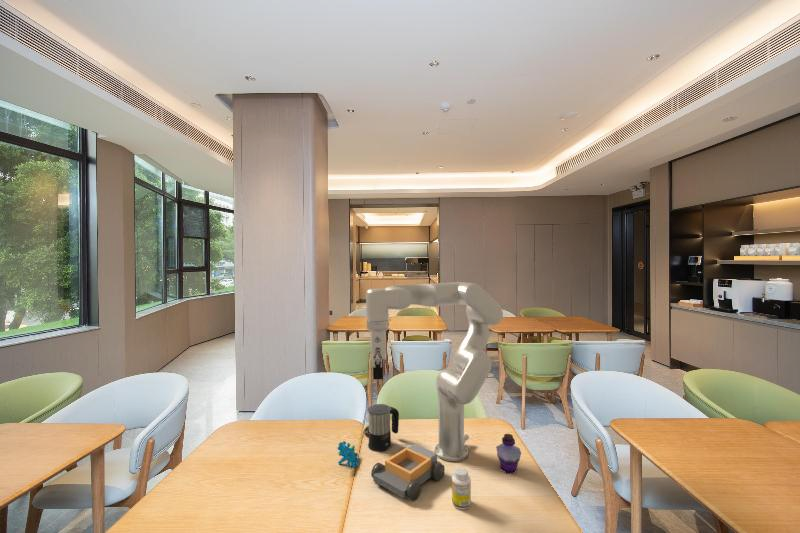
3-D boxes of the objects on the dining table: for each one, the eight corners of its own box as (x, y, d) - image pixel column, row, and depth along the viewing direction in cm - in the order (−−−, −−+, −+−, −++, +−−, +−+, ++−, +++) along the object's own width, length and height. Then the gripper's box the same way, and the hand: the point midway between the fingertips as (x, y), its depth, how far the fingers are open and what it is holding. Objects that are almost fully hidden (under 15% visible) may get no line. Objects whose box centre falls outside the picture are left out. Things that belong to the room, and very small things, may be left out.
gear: (354, 470, 125) (336, 446, 127) (342, 481, 125) (324, 457, 128) (365, 457, 135) (347, 435, 138) (354, 467, 136) (337, 445, 138)
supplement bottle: (458, 495, 114) (458, 463, 113) (474, 503, 110) (474, 470, 110) (448, 504, 109) (448, 471, 109) (464, 513, 106) (464, 478, 106)
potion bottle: (499, 459, 133) (499, 427, 133) (523, 466, 129) (523, 433, 128) (492, 472, 126) (492, 437, 125) (518, 479, 121) (518, 444, 121)
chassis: (408, 457, 135) (407, 439, 135) (446, 475, 124) (446, 456, 124) (369, 482, 120) (368, 463, 120) (408, 505, 109) (408, 484, 109)
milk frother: (382, 454, 137) (382, 415, 137) (350, 443, 146) (349, 406, 145) (402, 438, 149) (402, 402, 149) (371, 428, 158) (370, 394, 157)
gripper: (389, 329, 116) (389, 382, 117) (388, 319, 134) (388, 366, 134) (365, 330, 116) (366, 383, 117) (367, 320, 133) (368, 366, 134)
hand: (378, 374), depth 125 cm, fingers open, 9 cm apart
